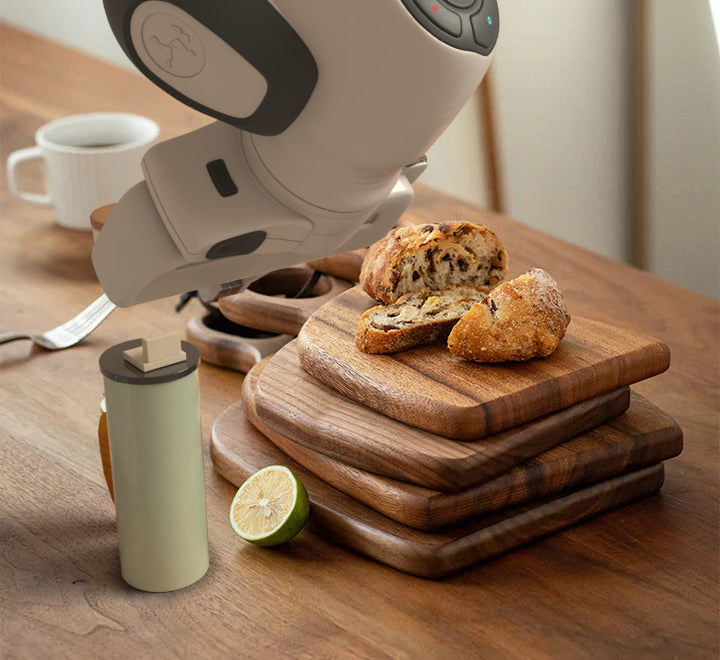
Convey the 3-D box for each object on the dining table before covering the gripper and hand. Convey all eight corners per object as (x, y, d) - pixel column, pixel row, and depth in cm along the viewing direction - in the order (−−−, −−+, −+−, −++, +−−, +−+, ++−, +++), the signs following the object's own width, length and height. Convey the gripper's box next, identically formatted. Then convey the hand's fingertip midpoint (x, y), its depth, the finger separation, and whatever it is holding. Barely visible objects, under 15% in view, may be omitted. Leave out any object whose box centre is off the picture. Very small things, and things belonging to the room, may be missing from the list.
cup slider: (144, 372, 79) (141, 342, 78) (123, 358, 81) (120, 329, 80) (186, 360, 81) (184, 330, 80) (165, 346, 83) (163, 317, 82)
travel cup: (147, 606, 84) (128, 386, 77) (102, 561, 90) (81, 352, 82) (229, 570, 89) (219, 359, 81) (181, 530, 94) (168, 328, 87)
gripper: (416, 105, 67) (322, 219, 78) (118, 151, 55) (56, 279, 66) (463, 189, 66) (360, 294, 76) (167, 256, 54) (95, 369, 64)
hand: (217, 288), depth 71 cm, fingers closed
